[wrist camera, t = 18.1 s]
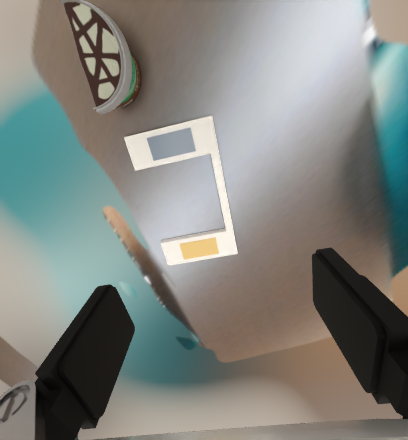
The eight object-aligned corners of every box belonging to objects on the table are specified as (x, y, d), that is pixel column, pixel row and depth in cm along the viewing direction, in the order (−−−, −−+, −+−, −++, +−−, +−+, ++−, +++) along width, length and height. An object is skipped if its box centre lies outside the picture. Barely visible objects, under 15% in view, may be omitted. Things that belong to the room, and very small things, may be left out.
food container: (156, 111, 37) (138, 105, 28) (122, 117, 37) (94, 113, 28) (136, 21, 32) (107, -22, 23) (98, 29, 32) (54, -10, 23)
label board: (211, 115, 37) (212, 115, 35) (236, 250, 47) (237, 254, 46) (126, 137, 39) (123, 137, 37) (169, 261, 49) (168, 266, 48)
